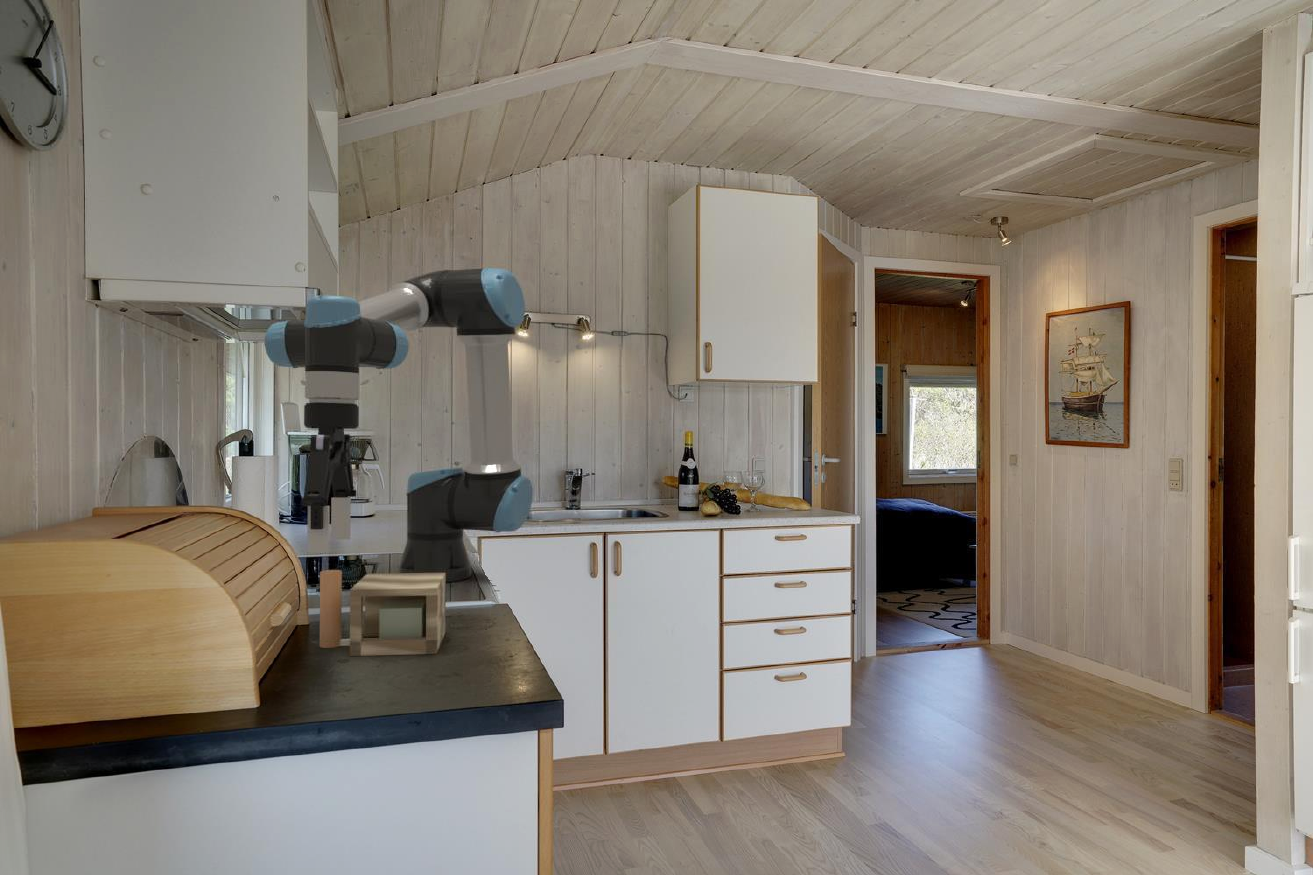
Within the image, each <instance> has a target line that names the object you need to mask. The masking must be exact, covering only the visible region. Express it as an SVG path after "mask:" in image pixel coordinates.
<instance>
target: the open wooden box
mask: <svg viewBox="0 0 1313 875" xmlns="http://www.w3.org/2000/svg"><path fill="white" fill-rule="evenodd" d="M446 585H447V582H446V573H398V572H397V573H395V572H394V573H391V572H389V573H366V574H365V575H364V576H363V577H362V578H361V579H360V580H358V581H357V583H356V584H354V585H353V586H352V587H351V588H350V591H349V596H350V597H349V639H350V646H349V657H360V656H361V657H363V656H364V657H365V656H371V657H372V656H398V655H399V656H402V655H403V656H404V655H430V654H431V655H433V654H434V655H436V654H438V652H439V649H440V646H441V644H442V641H443V639H444V636H445V634H446V598H447V596H446V595H447V594H446V592H447V591H446V590H447V589H446V587H447V586H446ZM409 599H426V637H425V638H384V639H363V638H364V637H367V638H369V637H370V638H371V637H372V638H373V637H379V615H380V608H381V606H382V605H383V604H384V603H385V601H386V600H409Z"/></svg>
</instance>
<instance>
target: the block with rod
mask: <svg viewBox="0 0 1313 875" xmlns="http://www.w3.org/2000/svg"><path fill="white" fill-rule="evenodd" d="M342 581H343V570H340V569H325V570H322V571H320V572H319V647H320V648H322V649H334V648H338V647H346V646H347V647H350V638H342V617H343V616H342V611H343V610H342V606H343V605H342V603H343V602H342V601H343V600H342V599H343V598H342V597H343V596H342V594H343V593H342V591H343V585H342V584H343V582H342ZM425 637H426V599H409V600H386V601H385V603H384V604H383V605H382V606H381V608H380V615H379V636H378V637H374V638H373V637H372V638H371V637H370V638H369V637H367V638H364V637H363V639H384V638H425Z"/></svg>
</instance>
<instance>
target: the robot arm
mask: <svg viewBox="0 0 1313 875" xmlns="http://www.w3.org/2000/svg"><path fill="white" fill-rule="evenodd" d="M305 307H306V309H305V319H302V320H295V321H293V320H290V319H289V320H286V321H277V322H274V323H273V324H271V325H270V326H269V327H268V328H267V330H266V332H265V335H264V340H263V342H264V347H265V353H266V355H267V357H268V359H269V360H270V362H272V363H273V364H274V365H276V366H278V367H282V368H283V367H284V368H292V369H298V368H304V376H305V378H301V380H300V383H301V385H302V386H304V398H305V399H306V400H308V402H306V403H305V404H304V406H303V425H304V427H305V428H307V429H318V433H317V434H311V435H310V451H309V457H308V462H307V471H306V478H305V484H304V491H303V492H304V493H303V496H302V498H301V500H300V501H301V504H300V505H301V506H302V507H307V537H306V538H307V539H306V540H307V548H306V549H307V551H306V553H308V554H310V553H312V554H314V553H315V554H321V553H324V554H326V553H329V552H330V540H350V539H351V509H352V508H351V505H352V504H351V498H353V497H354V498H355V497H356V496H357V489H355V485H354V478H353V477H354V476H353V467H352V466H353V465H352V455H351V435H350V433H349V434H348V433H346V434H345V430H347V429H348V430H351V429H352V430H354V429H357V428H358V427H359V424H360V423H359V422H360V421H359V417H360V416H359V415H360V412H359V411H360V406H359V405H358V404H356V401H358V400H360V368H374V369H376V370H380V369H382V370H387V369H394V368H397V367H399V366H400V365H401V364H402V363H403V362H404V361H405V360H406V359H407V356H408V352H409V348H410V347H409V339H408V337H407V335H406V333H405V331H409V332H412V331H416V330H418V329H421V328H422V329H423V328H456V338H457V339H459V340H460V341H461V342H462V343H463V344H464V348H465V366H466V367H465V368H466V386H467V387H466V388H467V390H466V391H467V405H468V406H467V408H468V423H469V424H468V425H469V426H468V427H469V445H470V458H471V459H470V462H469V463H468V464H467V465H466V466H465V467H464V468H463V467H454V468H445V469H436V470H429V471H428V470H427V471H417V472H414V473H412V474H410V475H409V477H408V480H407V486H406V487H407V488H406V493H405V494H406V495H405V496H406V510H407V511H406V544H405V547H404V550H403V552H402V555H401V558H400V561H399V564H398V568H397V569H398V570H397V573H446V583H451V582H458V581H462V580H465V579H468V578H470V577H471V576H472V564H471V562H470V561H471V560H470V558H469V554H468V552H467V549H466V546H465V542H464V531H466V530H467V531H481V532H482V531H484V532H485V531H487V532H494V533H501V532H506V533H507V532H508V533H509V532H515V531H518V530H519V529H520V528H522V527H523V525H525V523H526V521H527V520H528V517H529V515H530V510H531V507H532V504H533V494H534V493H533V491H534V490H533V485H532V481H531V479H530V478H529V477H527V476H526V475H522V467H521V465H520V464H519V462H517V461H516V460H515V459H514V452H513V449H514V448H513V431H512V426H513V425H512V409H511V407H512V406H511V390H510V389H511V386H510V385H511V383H510V364H509V363H510V362H509V358H510V357H509V342H510V341H511V340H512V339H514V337H516V336H515V335H516V331H515V330H516V328H517V327H519V326H520V325H522V323H524V320H525V317H524V316H525V314H526V304H525V296H524V294H523V289H522V287H521V285H520V282H519V281H518V279H517V278H516V276H515V275H514V274H513V273H512V272H510V271H509V270H507V269H504V268H492V267H491V268H490V267H484V268H472V269H471V268H470V269H469V268H468V269H466V268H465V269H443V270H442V269H441V270H435V271H432V272H428V273H425V274H421V275H419V276H415V277H412V278H409V279H407V280H404V281H401V282H397V283H395V284H393V285H392V286H391V287H390V288H389V289H388V290H387V292H384V293H382V294H381V293H380V294H378V295H375V296H372V297H369V298H367V299H364V300H363V299H362V300H360V301H358V300H357V299H355V298H354V297H353V298H352V297H348V296H342V295H330V294H329V295H328V294H327V295H326V294H325V295H323V294H322V295H315V296H311V297H310V298H308V299H307V301H306V306H305ZM331 487H332V494H333V497H331V498H330V499H331V504H330V505H331V506H330V505H328V503H329V502H328V501H329V496H330V492H331ZM330 509H331V510H330ZM330 513H331V514H330ZM330 516H331V518H330Z"/></svg>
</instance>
